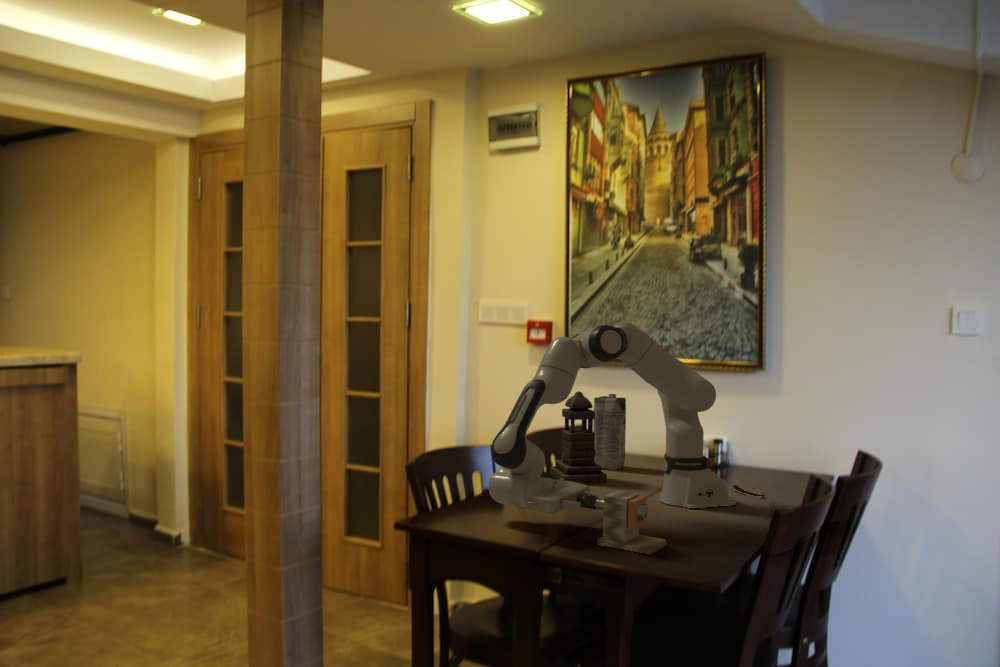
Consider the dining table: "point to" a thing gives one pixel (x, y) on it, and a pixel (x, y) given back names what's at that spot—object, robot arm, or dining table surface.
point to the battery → (610, 431)
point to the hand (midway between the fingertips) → (589, 502)
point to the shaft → (598, 504)
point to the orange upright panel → (635, 513)
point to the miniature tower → (578, 445)
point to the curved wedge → (745, 491)
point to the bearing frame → (624, 526)
